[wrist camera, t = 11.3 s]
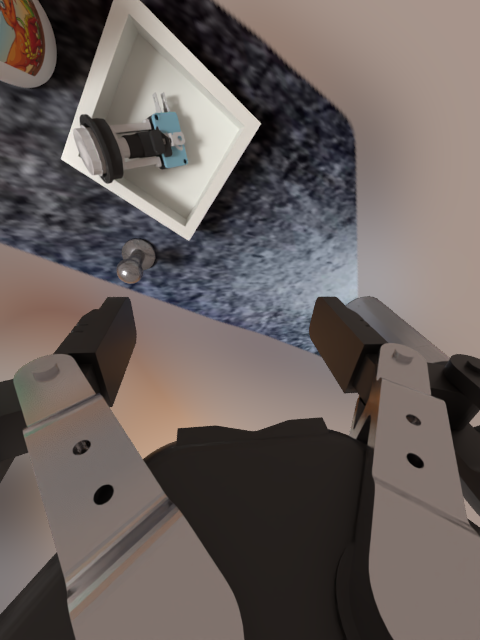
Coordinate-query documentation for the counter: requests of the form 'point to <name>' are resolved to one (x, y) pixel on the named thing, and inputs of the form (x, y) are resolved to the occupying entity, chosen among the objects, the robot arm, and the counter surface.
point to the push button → (131, 143)
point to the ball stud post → (135, 260)
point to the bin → (182, 98)
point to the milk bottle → (26, 44)
